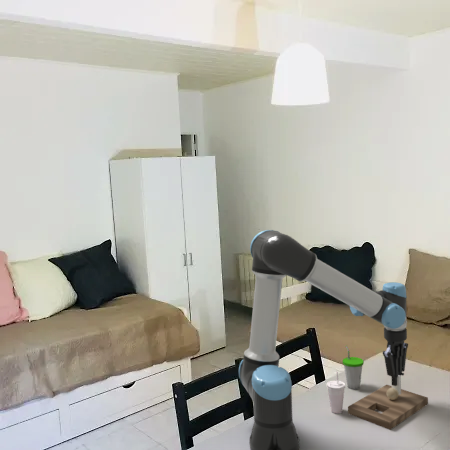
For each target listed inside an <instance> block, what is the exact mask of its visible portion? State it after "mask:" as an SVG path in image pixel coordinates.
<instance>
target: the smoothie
mask: <svg viewBox="0 0 450 450" xmlns="http://www.w3.org/2000/svg"><path fill="white" fill-rule="evenodd" d="M335 373H336V374H335V375H336V380H329V381H327V382H326V385H325V386H326V388H327V392H328V394H327V395H328V400H329V404H330V411H331V413H332V414H337V415H338V414H341V413H343V405H344V396H345V395H344V394H345V389H346V383H345V382H344V381H341V380H339V371H336V372H335Z"/></svg>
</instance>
